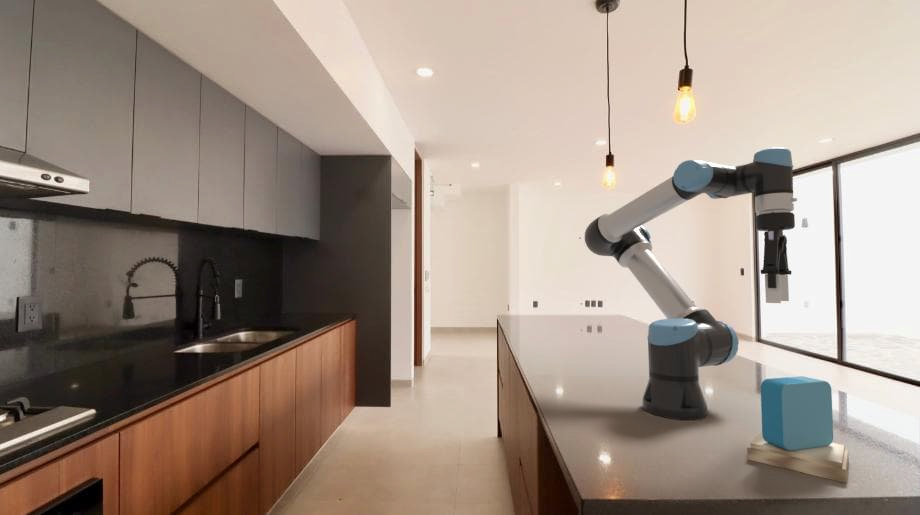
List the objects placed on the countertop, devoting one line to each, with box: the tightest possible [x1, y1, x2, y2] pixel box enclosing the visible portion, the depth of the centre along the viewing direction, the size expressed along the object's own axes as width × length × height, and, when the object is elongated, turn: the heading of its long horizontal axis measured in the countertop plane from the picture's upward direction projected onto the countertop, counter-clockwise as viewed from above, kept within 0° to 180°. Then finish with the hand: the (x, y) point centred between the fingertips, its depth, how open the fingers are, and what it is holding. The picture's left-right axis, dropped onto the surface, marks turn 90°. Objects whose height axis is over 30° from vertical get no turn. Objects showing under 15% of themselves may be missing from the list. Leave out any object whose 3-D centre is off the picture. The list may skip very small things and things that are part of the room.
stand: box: [746, 428, 850, 484], centre depth 82 cm, size 14×12×3 cm
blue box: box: [760, 375, 834, 451], centre depth 82 cm, size 12×4×12 cm, turn 105°
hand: (777, 302), depth 103 cm, fingers open, 13 cm apart
